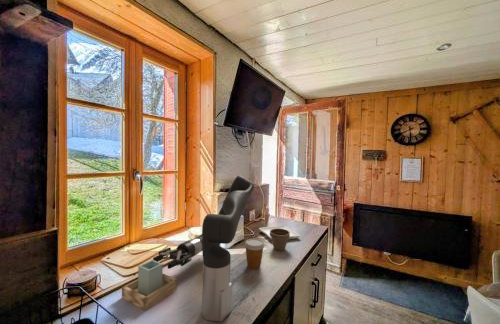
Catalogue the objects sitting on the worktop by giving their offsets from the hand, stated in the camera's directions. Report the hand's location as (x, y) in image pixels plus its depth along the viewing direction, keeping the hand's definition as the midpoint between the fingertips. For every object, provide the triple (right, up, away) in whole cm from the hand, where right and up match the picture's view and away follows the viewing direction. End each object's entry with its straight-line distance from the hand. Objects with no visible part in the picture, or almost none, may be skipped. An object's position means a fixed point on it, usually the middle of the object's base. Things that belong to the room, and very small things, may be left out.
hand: (160, 263), depth 88 cm
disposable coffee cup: (+37, -10, +19) cm, 43 cm away
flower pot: (+52, -10, +40) cm, 67 cm away
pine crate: (-2, -10, -4) cm, 11 cm away
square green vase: (-2, -9, -4) cm, 10 cm away
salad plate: (+55, -10, +62) cm, 83 cm away
